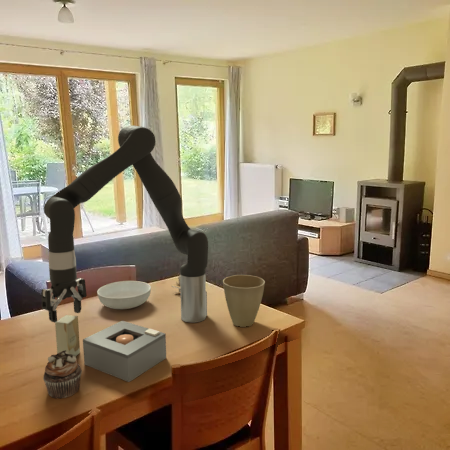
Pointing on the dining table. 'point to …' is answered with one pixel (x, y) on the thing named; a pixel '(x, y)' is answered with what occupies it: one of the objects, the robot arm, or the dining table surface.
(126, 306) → the serving bowl
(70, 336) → the skincare box
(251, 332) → the dining table surface
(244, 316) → the plant pot
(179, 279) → the architectural model
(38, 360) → the dining table surface
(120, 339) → the button
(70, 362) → the cupcake
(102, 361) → the grey square box
